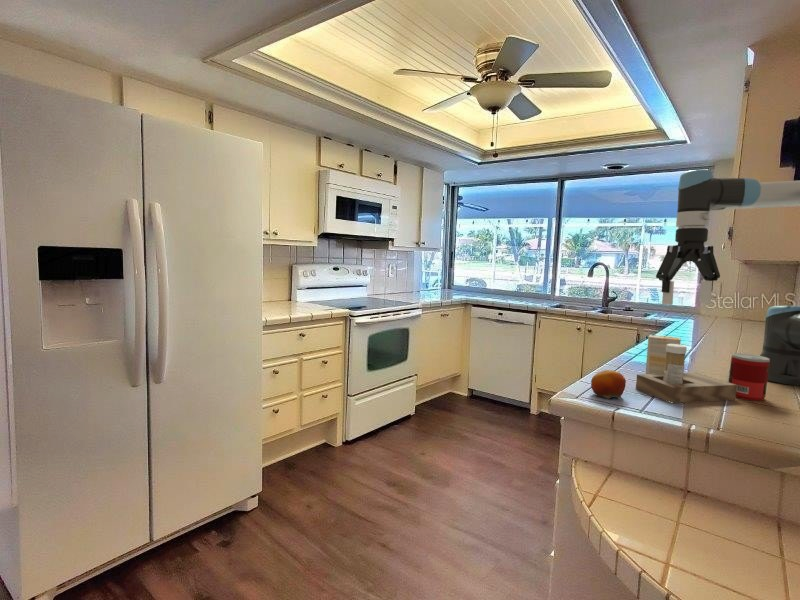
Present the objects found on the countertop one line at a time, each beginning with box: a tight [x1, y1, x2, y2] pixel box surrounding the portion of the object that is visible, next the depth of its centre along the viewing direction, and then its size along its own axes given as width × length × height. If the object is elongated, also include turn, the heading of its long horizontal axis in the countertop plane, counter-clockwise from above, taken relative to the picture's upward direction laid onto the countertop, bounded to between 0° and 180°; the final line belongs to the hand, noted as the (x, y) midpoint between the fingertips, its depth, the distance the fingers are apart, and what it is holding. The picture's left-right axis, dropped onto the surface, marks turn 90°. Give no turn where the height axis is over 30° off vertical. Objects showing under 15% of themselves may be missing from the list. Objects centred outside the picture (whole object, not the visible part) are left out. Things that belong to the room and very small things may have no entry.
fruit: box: [590, 369, 627, 401], centre depth 114 cm, size 8×8×8 cm
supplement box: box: [644, 334, 682, 374], centre depth 132 cm, size 8×5×13 cm, turn 56°
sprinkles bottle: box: [663, 343, 688, 384], centre depth 117 cm, size 5×5×13 cm
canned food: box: [728, 352, 770, 402], centre depth 118 cm, size 8×8×11 cm
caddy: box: [635, 372, 737, 403], centre depth 118 cm, size 20×12×4 cm, turn 103°
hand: (686, 304), depth 125 cm, fingers open, 13 cm apart
